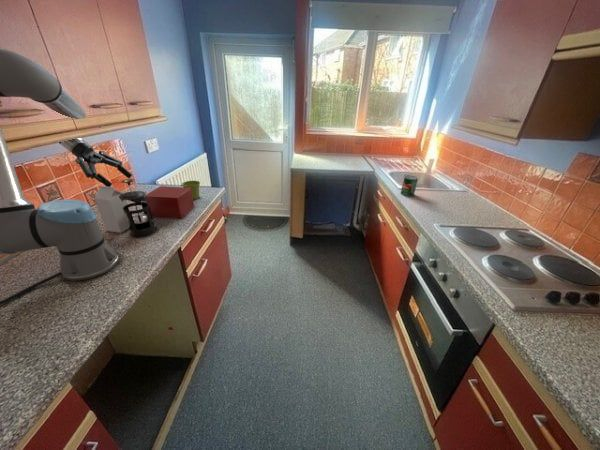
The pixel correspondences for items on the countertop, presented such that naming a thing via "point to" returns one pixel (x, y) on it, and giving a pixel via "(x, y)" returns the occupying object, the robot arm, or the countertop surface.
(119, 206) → the milk carton
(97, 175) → the robot arm
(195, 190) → the plant pot
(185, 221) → the countertop surface
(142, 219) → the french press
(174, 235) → the countertop surface
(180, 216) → the red drawer cabinet
